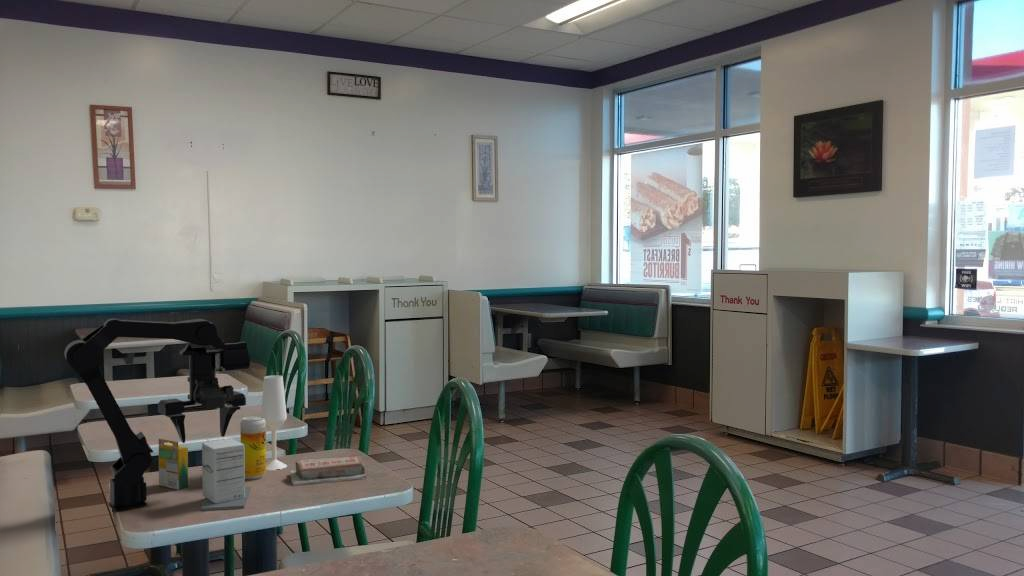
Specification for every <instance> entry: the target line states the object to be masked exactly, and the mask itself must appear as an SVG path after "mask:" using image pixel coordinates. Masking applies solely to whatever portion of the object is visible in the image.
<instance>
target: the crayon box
mask: <svg viewBox="0 0 1024 576" xmlns="http://www.w3.org/2000/svg"><path fill="white" fill-rule="evenodd" d="M165 443H166V444H165ZM188 454H189V447H187V446H181V445H179V441H173V440H169V439H164V438H158V486H159V487H164V486H165V488H168V489H169V488H171V489H173V490H176V491H179V490H183V489H185V488H188V487H189V455H188Z"/></svg>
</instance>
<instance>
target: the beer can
mask: <svg viewBox="0 0 1024 576" xmlns="http://www.w3.org/2000/svg"><path fill="white" fill-rule="evenodd" d="M239 425H240V427H239V428H240V429H239V430H240V443H242V444H244V446H245V480H258V479H262V478H264V477H265V475H266V474H267V470H266V463H267V427H266V421H265V419H264V417H262V416H261V415H248V416H244V417H242V418H241V421H240V424H239Z"/></svg>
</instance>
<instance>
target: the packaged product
mask: <svg viewBox="0 0 1024 576" xmlns="http://www.w3.org/2000/svg"><path fill="white" fill-rule="evenodd" d="M365 470H366V469H365V463H364V461H363V460H362V458H361V456H357V455H356V456H355V455H354V456H353V455H352V456H338V457H328V458H325V457H324V458H315V459H313V458H311V459H301V460H297V461H295V469H291V470H289V475H290V479H291V483H292V486H302V485H303V486H304V485H311V484H313V485H314V483H315V484H324V483H323V482H327V483H335V482H334V481H339V482H344V481H343V480H348V481H354V480H353V479H358V480H363V479H362V478H366V479H367V475H366V473H365V472H366V471H365Z"/></svg>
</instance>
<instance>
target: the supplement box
mask: <svg viewBox="0 0 1024 576" xmlns="http://www.w3.org/2000/svg"><path fill="white" fill-rule="evenodd" d="M201 451H202V452H201V454H202V455H201V458H202V459H201V463H202V464H201V465H202V466H201V467H202V468H201V469H202V470H201V471H202V472H201V473H202V475H201V476H202V477H201V478H202V483H201V484H202V487H201V488H202V490H201V491H202V497H204V498H205V499H206V498H207V499H209V500H210V501H212V502H213V503H214V504H216V503H222V502H227V501H231V500H236V499H241V498H244V497H245V487H246V482H245V481H246V479H245V446H244V444H242V443H241V441H237V440H235V439H234V438H225V439H218V440H212V441H205V442H202V443H201Z"/></svg>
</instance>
